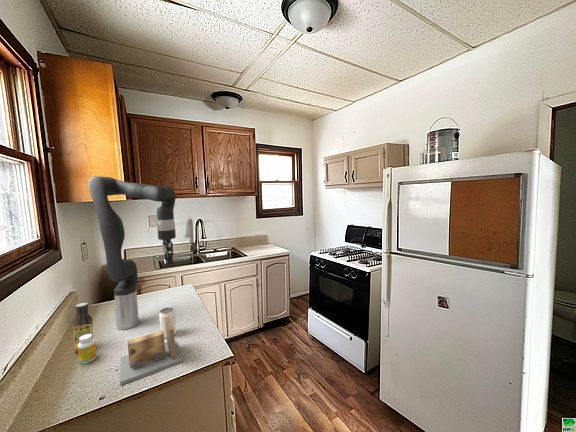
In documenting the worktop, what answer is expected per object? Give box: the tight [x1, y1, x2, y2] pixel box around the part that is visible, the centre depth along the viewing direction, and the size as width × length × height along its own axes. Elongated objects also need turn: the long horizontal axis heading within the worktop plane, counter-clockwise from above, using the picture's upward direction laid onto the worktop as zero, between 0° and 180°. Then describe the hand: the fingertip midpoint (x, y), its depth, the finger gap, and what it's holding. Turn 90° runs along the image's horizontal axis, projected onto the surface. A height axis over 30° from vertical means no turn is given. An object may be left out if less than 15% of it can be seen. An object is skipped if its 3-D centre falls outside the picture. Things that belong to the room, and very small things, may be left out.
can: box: [158, 306, 177, 339], centre depth 114 cm, size 6×6×12 cm
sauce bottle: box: [73, 302, 94, 354], centre depth 104 cm, size 7×6×20 cm
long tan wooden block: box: [127, 331, 166, 368], centre depth 95 cm, size 12×4×9 cm, turn 124°
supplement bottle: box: [77, 334, 97, 365], centre depth 98 cm, size 5×5×10 cm
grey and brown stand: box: [119, 317, 183, 386], centre depth 95 cm, size 20×16×13 cm
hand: (168, 262), depth 117 cm, fingers open, 8 cm apart
